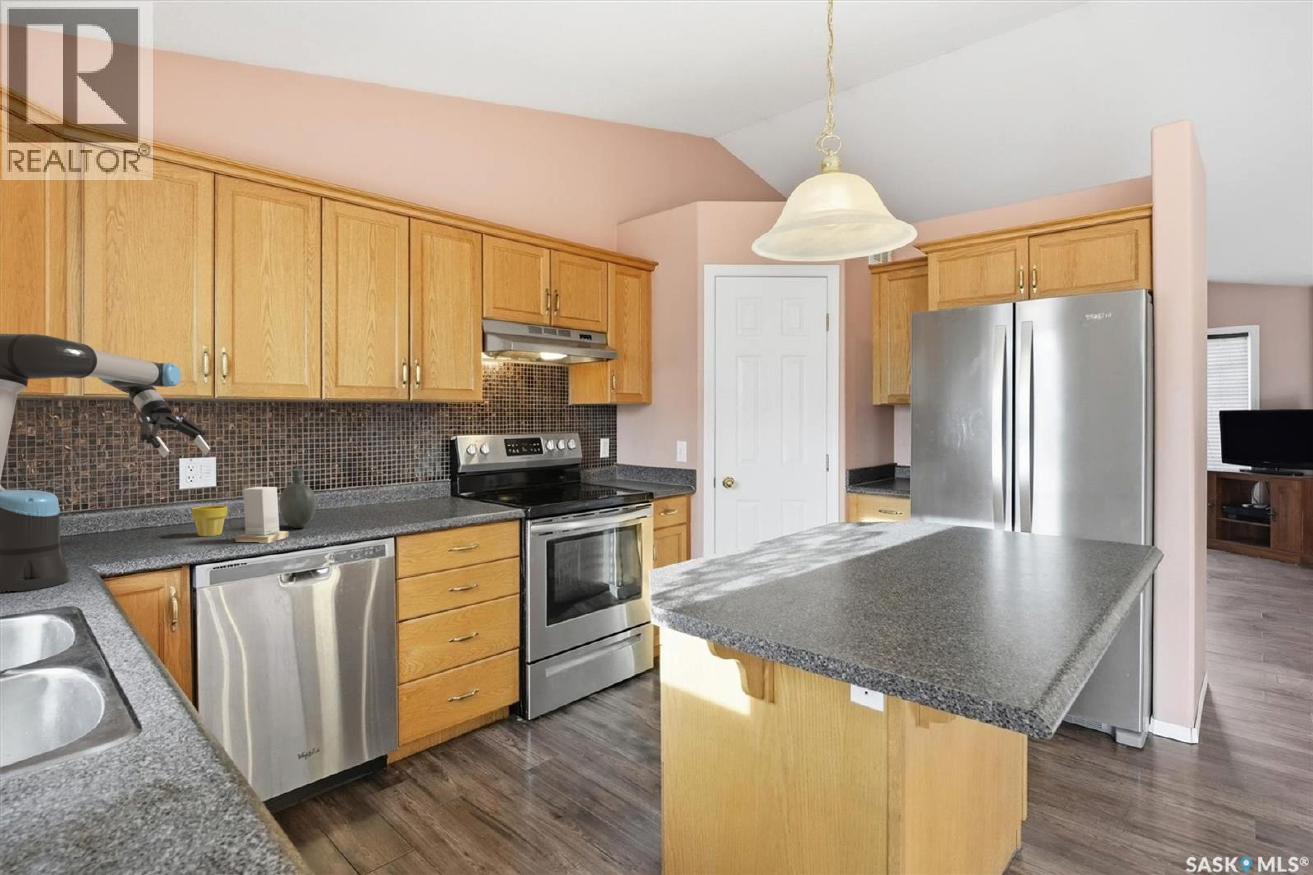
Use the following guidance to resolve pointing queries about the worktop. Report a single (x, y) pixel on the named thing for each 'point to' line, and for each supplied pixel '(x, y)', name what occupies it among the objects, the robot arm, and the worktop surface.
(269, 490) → the skincare box
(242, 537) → the birch board
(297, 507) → the flask
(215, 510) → the plant pot
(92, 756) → the worktop surface
